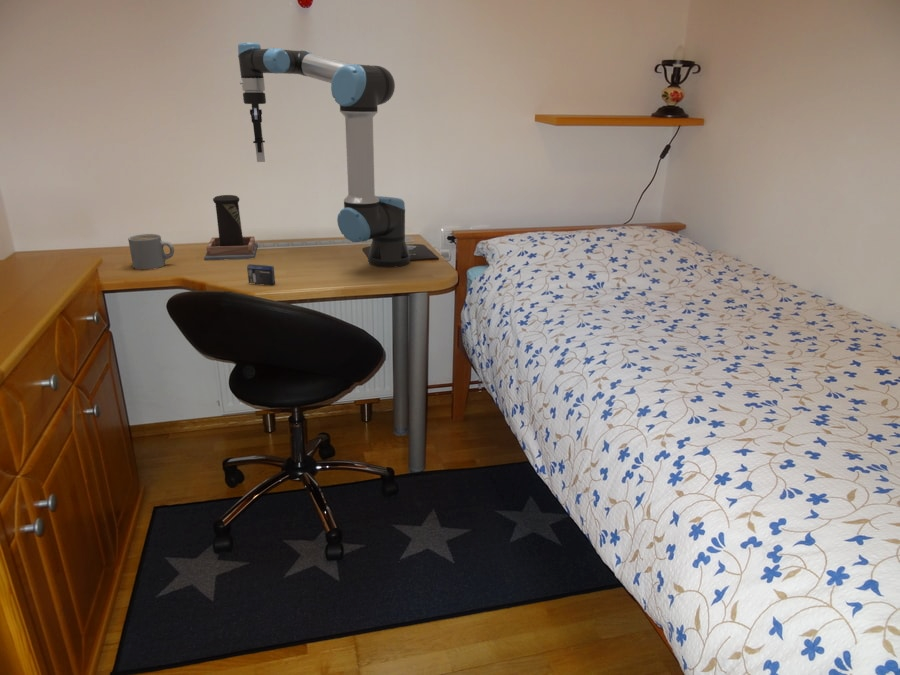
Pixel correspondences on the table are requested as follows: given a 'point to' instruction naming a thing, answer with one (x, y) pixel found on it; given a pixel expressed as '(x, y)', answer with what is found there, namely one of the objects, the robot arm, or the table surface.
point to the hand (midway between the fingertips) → (261, 161)
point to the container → (228, 220)
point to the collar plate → (231, 250)
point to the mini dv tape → (261, 274)
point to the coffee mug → (148, 251)
